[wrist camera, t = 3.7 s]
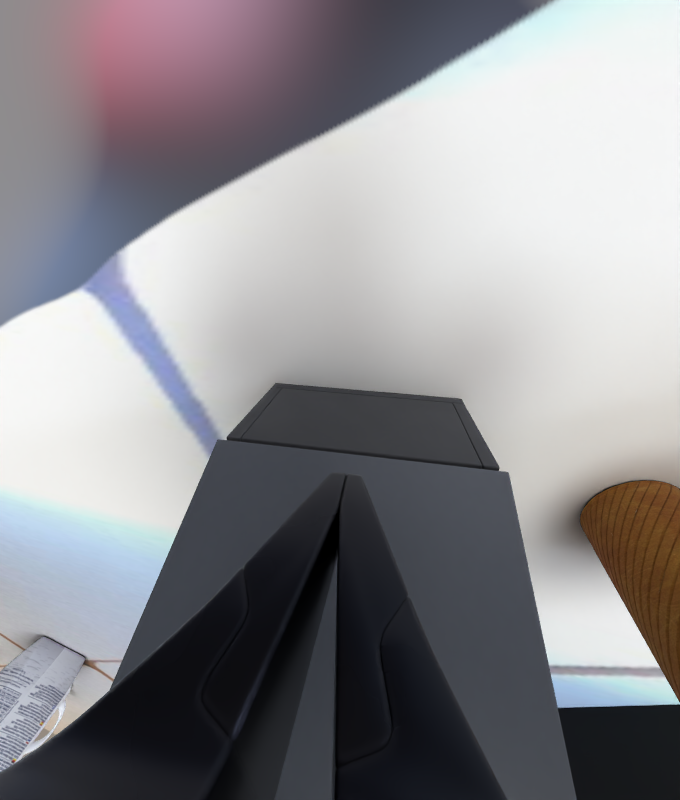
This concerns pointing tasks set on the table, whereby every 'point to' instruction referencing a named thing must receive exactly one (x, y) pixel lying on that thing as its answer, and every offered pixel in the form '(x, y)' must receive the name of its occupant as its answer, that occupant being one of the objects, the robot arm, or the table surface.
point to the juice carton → (32, 693)
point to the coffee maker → (623, 752)
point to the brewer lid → (428, 589)
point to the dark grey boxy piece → (367, 425)
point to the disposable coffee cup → (643, 560)
